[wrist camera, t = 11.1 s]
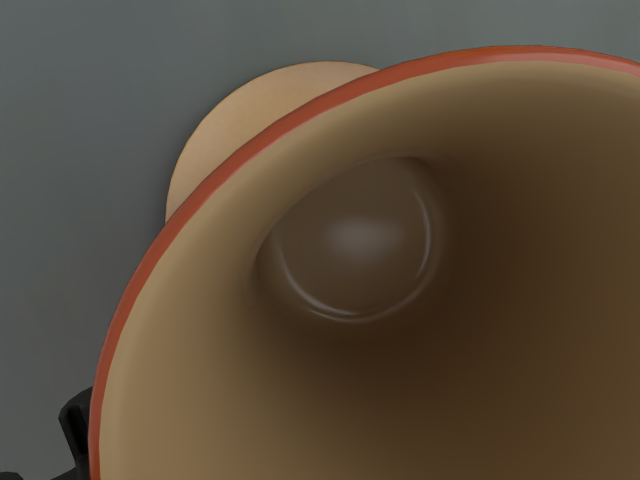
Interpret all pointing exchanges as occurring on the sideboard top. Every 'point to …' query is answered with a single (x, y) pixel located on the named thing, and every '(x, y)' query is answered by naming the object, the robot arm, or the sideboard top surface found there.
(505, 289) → the mug
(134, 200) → the sideboard top surface
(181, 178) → the tan round disc
